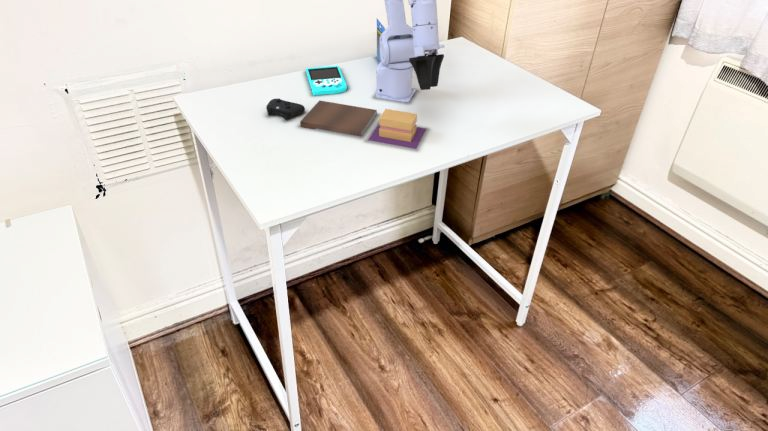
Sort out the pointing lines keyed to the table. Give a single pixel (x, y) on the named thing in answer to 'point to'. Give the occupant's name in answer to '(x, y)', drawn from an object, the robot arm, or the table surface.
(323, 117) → the cutting board
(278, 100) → the gaming controller
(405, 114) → the sandwich
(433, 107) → the table surface
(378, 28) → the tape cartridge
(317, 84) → the handheld game console
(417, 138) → the felt cloth
